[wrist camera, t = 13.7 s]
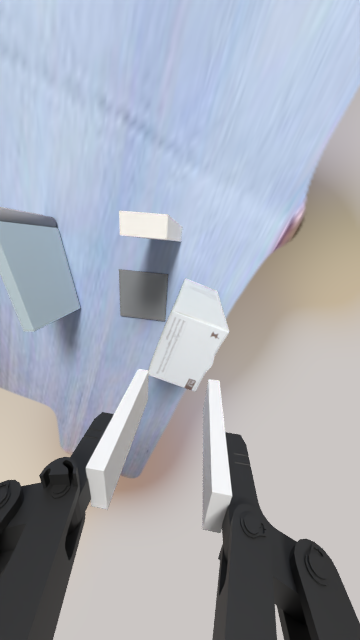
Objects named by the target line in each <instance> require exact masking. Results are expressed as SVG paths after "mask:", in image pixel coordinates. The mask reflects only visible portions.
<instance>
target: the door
mask: <svg viewBox="0 0 360 640" xmlns="http://www.w3.org/2000/svg"><path fill="white" fill-rule="evenodd" d="M56 225H57V224H56V220H55V219H54V218H52V217H48V216H43V215H37V214H32V213H26V212H21V211H16V210H10V209H5V208H0V275H1V277H2V280H3V282H4V285H5V287H6V289H7V292H8V294H9V297H10V299H11V302H12V304H13V307H14V309H15V311H16V314H17V316H18V319H19V321H20V324H21V326H22V328H23V331H24V332H33V331H36V330H38V329H40V328H42V327H44V326H46V325H48V324H50V323H52V322H54V321H56V320H58V319H60V318H62V317H64V316H66V315H68V314H70V313H72V312H74V311H76V310H78V309H80V305H79V301H78V298H77V294H76V290H75V287H74V283H73V280H72V276H71V273H70V269H69V266H68V262H67V259H66V255H65V251H64V248H63V244H62V241H61V237H60V234H59V230H58V228H55V227H56Z"/></svg>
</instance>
